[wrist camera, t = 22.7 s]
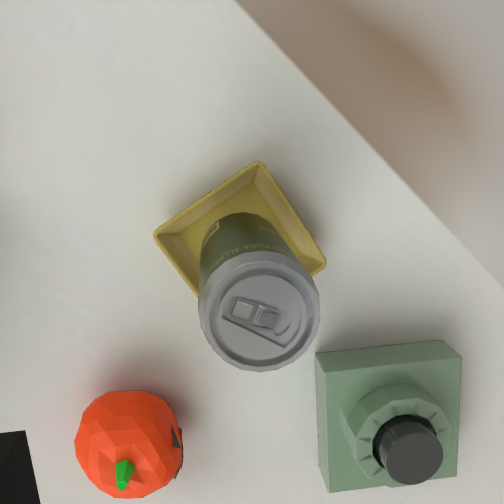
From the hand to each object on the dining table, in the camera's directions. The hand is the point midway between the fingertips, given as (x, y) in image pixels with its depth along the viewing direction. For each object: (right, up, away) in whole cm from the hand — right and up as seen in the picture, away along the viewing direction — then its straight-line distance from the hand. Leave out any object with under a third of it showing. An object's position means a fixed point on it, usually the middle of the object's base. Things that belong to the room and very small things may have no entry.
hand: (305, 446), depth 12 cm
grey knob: (+9, -8, +22) cm, 25 cm away
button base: (+9, -7, +26) cm, 28 cm away
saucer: (-2, +5, +22) cm, 23 cm away
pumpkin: (-10, -8, +25) cm, 28 cm away
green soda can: (-2, +5, +20) cm, 21 cm away
